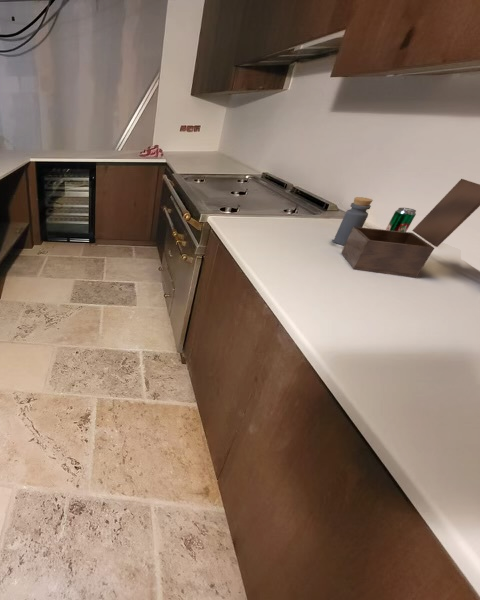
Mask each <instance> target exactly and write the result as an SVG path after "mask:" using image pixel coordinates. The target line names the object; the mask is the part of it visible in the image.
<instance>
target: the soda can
mask: <svg viewBox="0 0 480 600" xmlns="http://www.w3.org/2000/svg"><path fill="white" fill-rule="evenodd" d="M416 212H417V210H416V209H414V208H409V207H398V209H396V210H395V211H394V213H393V215H392V217H391V218H390V219H389V223H388V224H387V226H386V228H385V230H391V231H401V232H408V229H409V228H410V227H411V224H412V222H413V221H414V219H415V217H416V214H417V213H416Z"/></svg>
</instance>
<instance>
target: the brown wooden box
mask: <svg viewBox="0 0 480 600" xmlns="http://www.w3.org/2000/svg"><path fill="white" fill-rule="evenodd" d="M434 250H435V246H433V245H432V244H430V243H429V242H427V241H426V240H425V239H423V238H422V237H420V236H419V235H417V234H416V233H415V232H411V231H406V232H401V231H391V230H386V229H381V228H371V227H370V228H369V227H362V228H361V227H353V229H352V231H351V233H350V235H349V237H348V239H347V241H346V244H345V245H343V248H342V250H341V256H343V258H344V259H345V260H346V262H347V263H348V264H349V266H350V267H351V268H352V269H353V270H357V271H363V272H364V271H365V272H372V273H378V274H386V275H393V276H400V277H402V276H403V277H409V278H414V279H416V278H417V277H418V275H419V274H420V272H421V271H422V269H423V267H424V266H425V264H426V262H427V261H428V260H429V258H430V256H431V255H432V253H433V252H434Z"/></svg>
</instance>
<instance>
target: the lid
mask: <svg viewBox="0 0 480 600" xmlns="http://www.w3.org/2000/svg"><path fill="white" fill-rule="evenodd" d="M479 208H480V184H479V183H476V182H473V181H470V180H467V179H464V178H461V179H459V181H457V183H456V184H455V185H454V186H453V187H452V188H451V189H450V190H449V191H448V192H447V193H446V194H445V195H444V196H443V198H441V200H439V201H438V202H437V204H436V205H435V206H434V207H433V208H432V209H431V210H430V211H429V212H428V213H427V215H425V217H423V218H422V220H421V221H420V222H418V223H417V225H416V226H415V227H414V228H413V229H412V230H411V231H412V233H414V234H415V235H417V236H418V237H419V238H421V239H422V240H424V241H425V242H427V243H428V244H430V245H431V246H433V247H436V248H438V247H439V246H440V245H441V244H442V243H443V242H444V241H446V239H447V238H448V237H450V236H451V235H452V234H453V233H454V232H455V231H456V230H457V229H458V228H459V227H460V226H461V225H462V224H463V223H464V222H465V221H466V220H467V219H468V218H469V217H470V216H471V215H472V214H474V212H475V211H476V210H478V209H479Z"/></svg>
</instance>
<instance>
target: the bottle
mask: <svg viewBox="0 0 480 600" xmlns="http://www.w3.org/2000/svg"><path fill="white" fill-rule="evenodd" d="M373 201H374V200H373V199H372V198H368V197H363V196H355V197H354V199H353V202H351V203H350V207H351V208H350V209H347V210H346V211H345V214H344V216H343V218H342V220H341V223H340V225H339V227H338V229H337V232H336V233H335V236H334V238H333V242H334V243H335V244H337V245H341V246H345V244H346V241H347V239H348V237H349V235H350V233H351V231H352V229H353V227H361V228H364V225H365V223H366V221H367V218H368V216H369V212H367V211H368V210H370V209H371V207H372V206H371V204H372V202H373Z"/></svg>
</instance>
